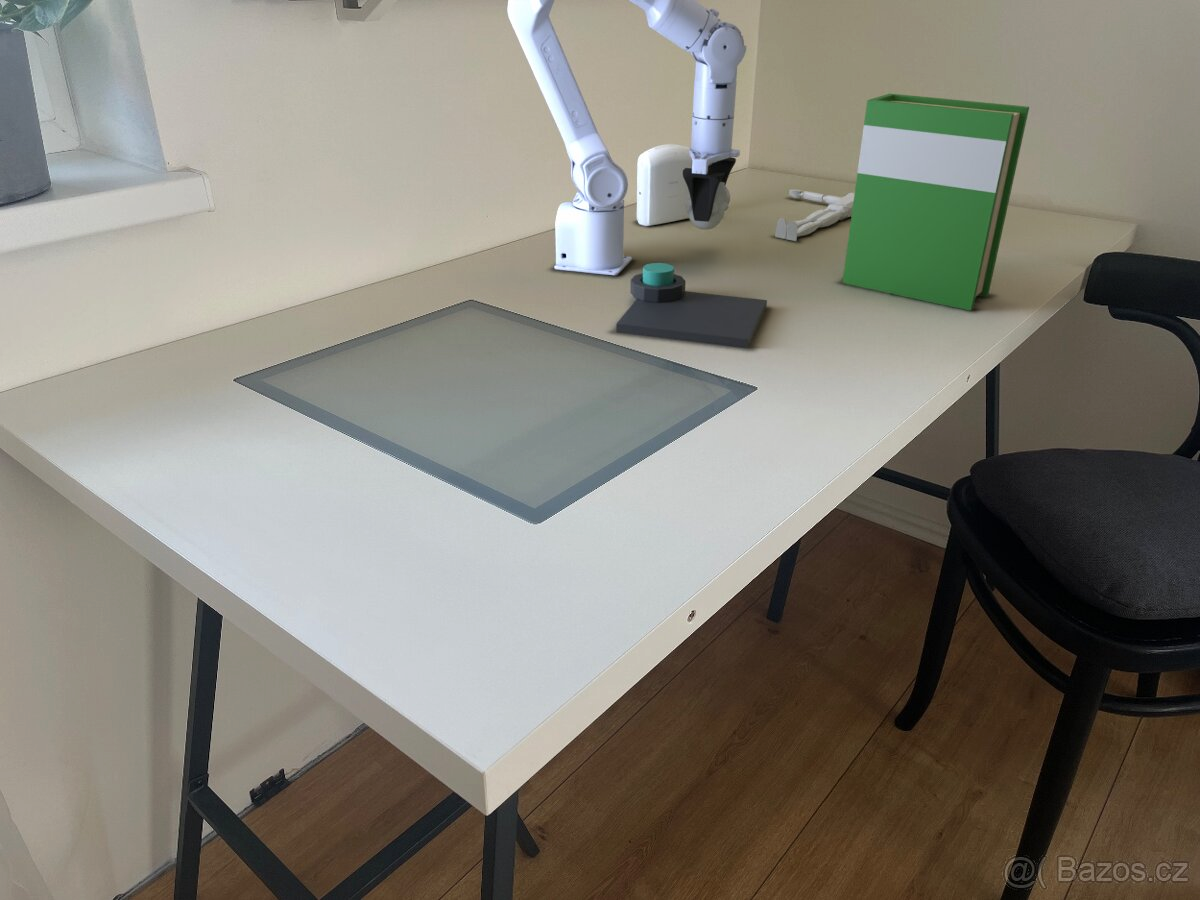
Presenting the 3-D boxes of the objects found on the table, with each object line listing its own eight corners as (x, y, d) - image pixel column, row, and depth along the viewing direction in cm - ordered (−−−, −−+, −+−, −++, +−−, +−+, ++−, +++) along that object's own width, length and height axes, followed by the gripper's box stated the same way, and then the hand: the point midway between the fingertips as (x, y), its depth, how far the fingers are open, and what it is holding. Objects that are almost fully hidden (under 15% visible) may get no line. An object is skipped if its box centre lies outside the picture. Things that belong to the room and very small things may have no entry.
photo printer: (647, 228, 152) (649, 150, 146) (632, 222, 155) (633, 146, 149) (696, 219, 157) (700, 144, 151) (680, 213, 160) (684, 139, 154)
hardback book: (988, 295, 124) (1029, 106, 112) (970, 310, 119) (1011, 114, 107) (863, 270, 133) (889, 93, 122) (842, 283, 128) (867, 100, 116)
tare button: (639, 286, 119) (639, 270, 118) (647, 276, 122) (647, 261, 121) (669, 289, 118) (669, 273, 117) (676, 279, 121) (677, 264, 120)
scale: (604, 331, 112) (604, 307, 111) (639, 291, 125) (639, 269, 124) (747, 348, 107) (749, 324, 106) (768, 305, 120) (770, 283, 119)
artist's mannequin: (715, 205, 153) (809, 170, 172) (714, 227, 155) (807, 190, 174) (866, 236, 137) (950, 194, 156) (863, 261, 139) (947, 216, 158)
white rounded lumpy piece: (737, 228, 135) (741, 179, 132) (707, 237, 131) (710, 187, 128) (704, 220, 139) (707, 172, 136) (674, 229, 135) (676, 180, 131)
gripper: (732, 126, 120) (724, 230, 127) (750, 110, 132) (743, 205, 139) (679, 123, 122) (674, 225, 129) (702, 107, 134) (697, 201, 141)
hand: (706, 214), depth 134 cm, fingers closed on white rounded lumpy piece, 6 cm apart
